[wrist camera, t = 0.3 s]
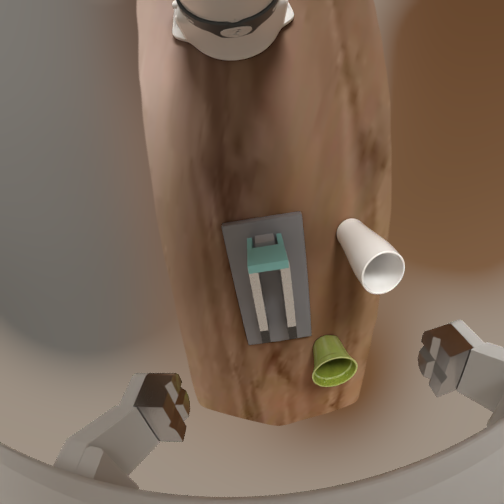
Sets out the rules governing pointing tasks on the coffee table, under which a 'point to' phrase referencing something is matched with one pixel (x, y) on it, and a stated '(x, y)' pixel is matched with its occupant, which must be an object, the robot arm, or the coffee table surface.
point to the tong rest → (270, 273)
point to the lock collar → (266, 256)
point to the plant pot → (331, 362)
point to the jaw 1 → (260, 306)
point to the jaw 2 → (288, 301)
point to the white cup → (370, 257)
